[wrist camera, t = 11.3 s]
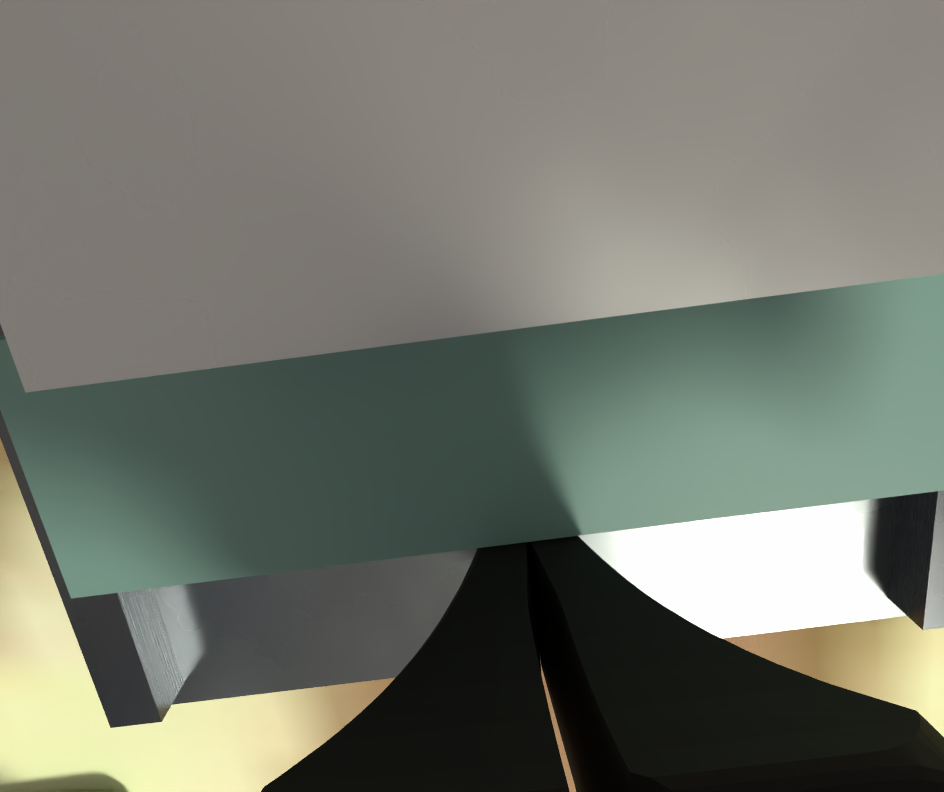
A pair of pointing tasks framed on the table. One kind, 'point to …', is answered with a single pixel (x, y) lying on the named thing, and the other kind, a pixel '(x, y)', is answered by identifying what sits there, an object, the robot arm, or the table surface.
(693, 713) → the robot arm
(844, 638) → the table surface
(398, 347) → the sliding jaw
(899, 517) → the vise bed
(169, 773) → the table surface
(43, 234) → the steel block
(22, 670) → the table surface
